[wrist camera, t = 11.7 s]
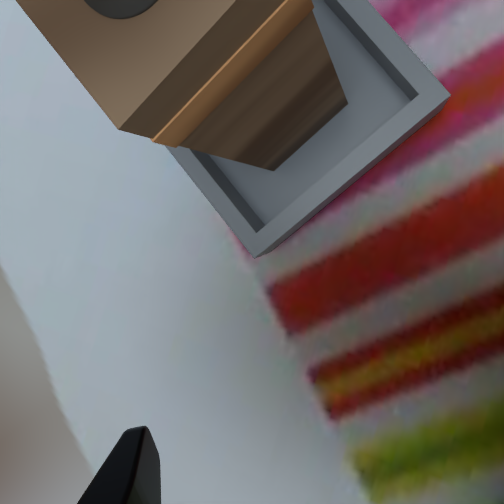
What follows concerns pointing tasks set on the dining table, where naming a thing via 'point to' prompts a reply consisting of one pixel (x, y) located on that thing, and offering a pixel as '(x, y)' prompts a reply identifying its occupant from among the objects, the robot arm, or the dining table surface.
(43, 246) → the dining table surface
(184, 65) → the block
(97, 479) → the robot arm
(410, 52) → the tray
